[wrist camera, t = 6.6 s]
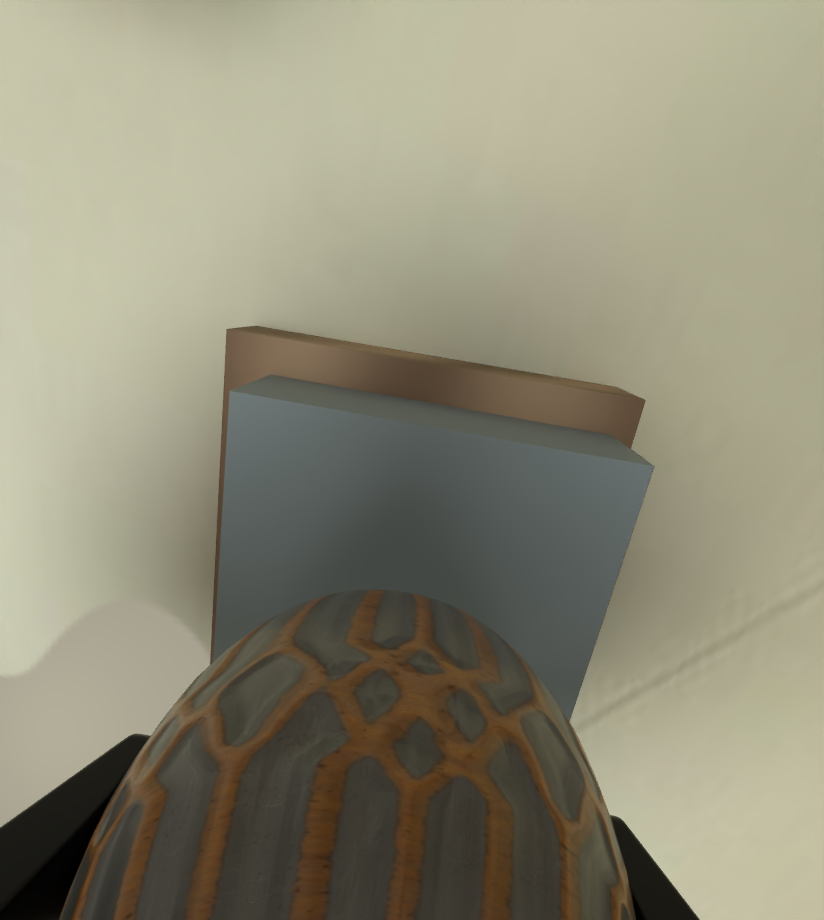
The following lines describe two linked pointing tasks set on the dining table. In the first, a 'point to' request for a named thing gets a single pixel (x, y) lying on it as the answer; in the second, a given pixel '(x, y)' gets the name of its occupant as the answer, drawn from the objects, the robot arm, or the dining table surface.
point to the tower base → (419, 387)
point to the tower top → (424, 516)
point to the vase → (359, 783)
